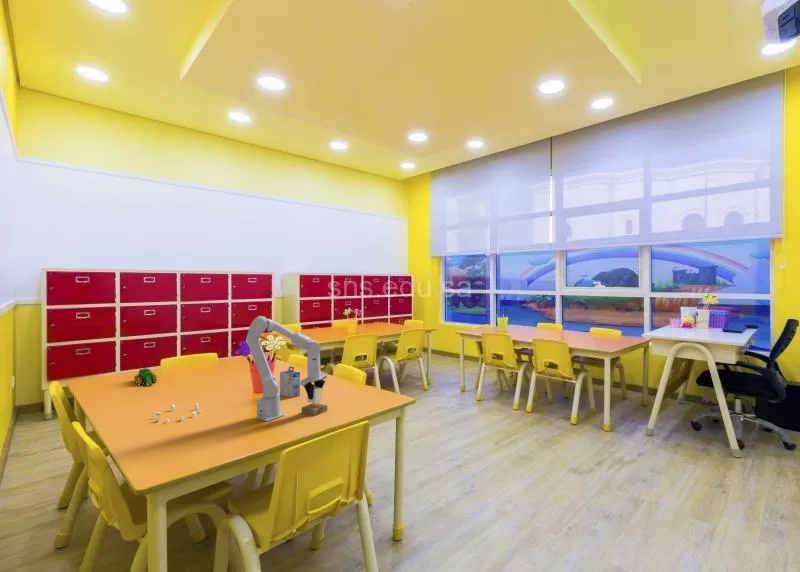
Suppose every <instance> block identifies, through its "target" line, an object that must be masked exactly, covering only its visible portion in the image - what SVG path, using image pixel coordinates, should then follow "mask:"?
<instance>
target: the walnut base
mask: <svg viewBox="0 0 800 572" xmlns="http://www.w3.org/2000/svg"><path fill="white" fill-rule="evenodd" d="M326 412H328V405H327V404H324V403H321V402H319V403H316V404H315V403H309V404H307V405H305V406H302V407H301V414H304V415H309V416H312V417H316V416H318V415H321V414H324V413H326Z"/></svg>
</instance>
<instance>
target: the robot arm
mask: <svg viewBox="0 0 800 572" xmlns="http://www.w3.org/2000/svg"><path fill="white" fill-rule="evenodd" d="M266 329H267V330H266ZM265 331H267V332H276V333H278V334H280V335H282V336H284V337H286V338H287V339H290V342H291V344H292V345H295V346H297V347H298V348H300V349H302V350H304V351H307V357H306V362H307V363H306V370H307V377H306V378H303V379H302V380H301V379H300V386H303V388H304V390H305V391H306V394H307V395H308V398H309V399H311V400H312V399H313V391H314V387H319V388H322V389H323V387H324V385H325V383H326V380H325V379H327V378H328V375H327V374H326V373H323V374H322V373H321V357H320V354H321V353H320V352H321V350H322V349H321V345H320V343H319V342H318V341H317V340H315V339H314V338H313V337H308V336H307V335H305V333H304V332H303V331H301V332H299V331H296V332H294V331H291V329H288V328H287V327H286V326H284V325H282V324H280V323H278V322H277V321H275V320H273V319H271V318H267V317H266V316H263V315H258V316H256V317H255V318H254V319H253V321H252V322H251V324H250V325H249V327H248V331H247V335H246V340H245V341H246V344H247V347H248V348H249V352H250V354H251V356H252V358H253V361H254V364H255V365H256V368H257V371H258V374H259V377H260V380H261V385H262V387H263V388H262V393H263V394H262V397H261V398H260V399H259V400H257V402H256V416H255V419H257V420H261V421H265V422H270V421H273V420H275V419H277V418H281V417H284V416H285V415H286V414H285V413H282V412H281V395H280V392H279V388H280V382H279V381H278V380H277V379H276V378H275V376H274V374H273V372H272V371H271V368H270V366H269V363H268V360H267V357H266V355H265V353H264V350H263V348H262V345H261V343H260V337H261V336H262V334H263V333H264V332H265Z"/></svg>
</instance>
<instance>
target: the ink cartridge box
mask: <svg viewBox="0 0 800 572" xmlns="http://www.w3.org/2000/svg"><path fill="white" fill-rule="evenodd" d="M300 381H301V372H300V371H295V367H294V366H288V369H287V370H283V371H280V372H279V394H280V396H283V397H288V398H295V397H300V396H301V385H300Z"/></svg>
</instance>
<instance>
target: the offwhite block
mask: <svg viewBox="0 0 800 572" xmlns="http://www.w3.org/2000/svg"><path fill="white" fill-rule="evenodd" d="M322 391H323V388H319V387H315V386H314V391H313V399H312V400H311V399H309V398H308V395H307V402H308V403H309V404H312V403H315V404H316V403H321V402H323V392H322Z"/></svg>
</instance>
